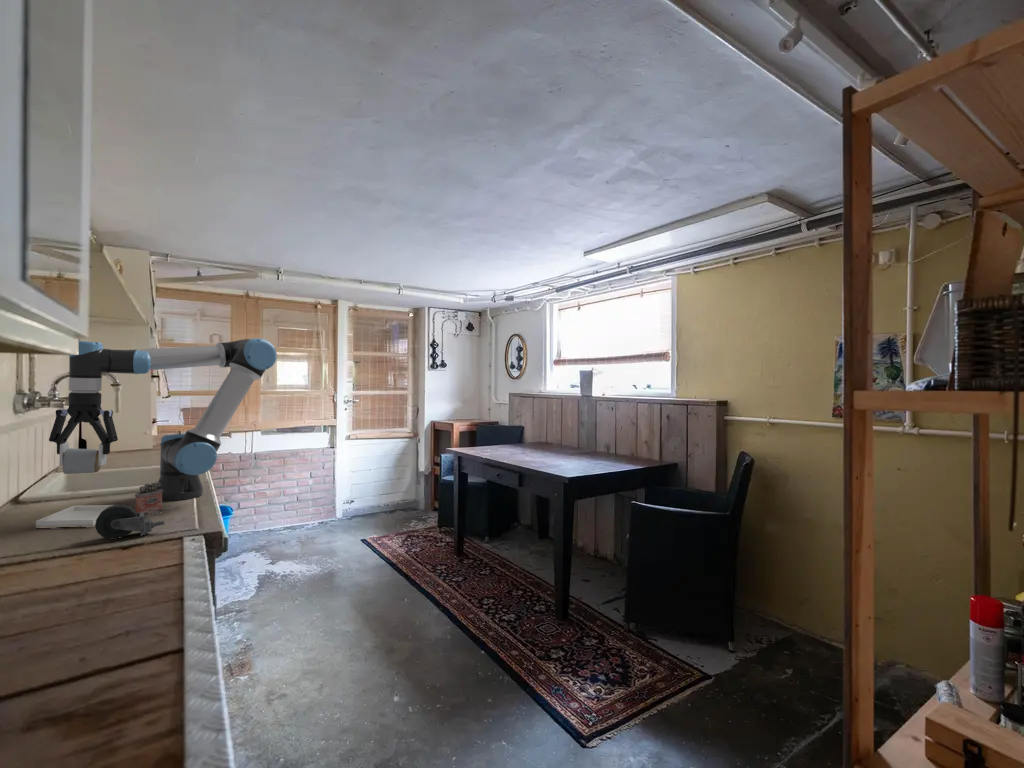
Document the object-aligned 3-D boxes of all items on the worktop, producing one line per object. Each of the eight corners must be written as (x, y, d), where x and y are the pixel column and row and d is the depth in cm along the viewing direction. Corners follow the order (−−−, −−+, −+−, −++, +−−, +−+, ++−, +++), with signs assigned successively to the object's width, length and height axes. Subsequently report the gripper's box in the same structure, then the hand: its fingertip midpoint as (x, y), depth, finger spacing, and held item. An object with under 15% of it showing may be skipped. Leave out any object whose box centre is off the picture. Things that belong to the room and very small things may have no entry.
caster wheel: (96, 546, 129) (164, 532, 137) (92, 511, 128) (161, 499, 137) (99, 540, 134) (165, 527, 142) (95, 506, 133) (162, 495, 141)
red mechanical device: (139, 518, 150) (140, 487, 150) (131, 517, 151) (132, 485, 151) (165, 512, 158) (165, 481, 158) (157, 510, 159) (158, 480, 159)
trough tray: (123, 511, 157) (123, 504, 156) (92, 527, 141) (93, 519, 141) (72, 512, 153) (73, 505, 153) (35, 528, 138) (36, 521, 138)
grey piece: (97, 474, 146) (98, 449, 146) (61, 476, 141) (62, 450, 141) (104, 468, 155) (105, 444, 155) (70, 470, 150) (71, 445, 150)
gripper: (133, 392, 153) (131, 462, 153) (51, 390, 148) (49, 462, 148) (120, 393, 145) (117, 467, 146) (33, 391, 140) (31, 467, 141)
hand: (83, 464), depth 147 cm, fingers closed on grey piece, 9 cm apart
